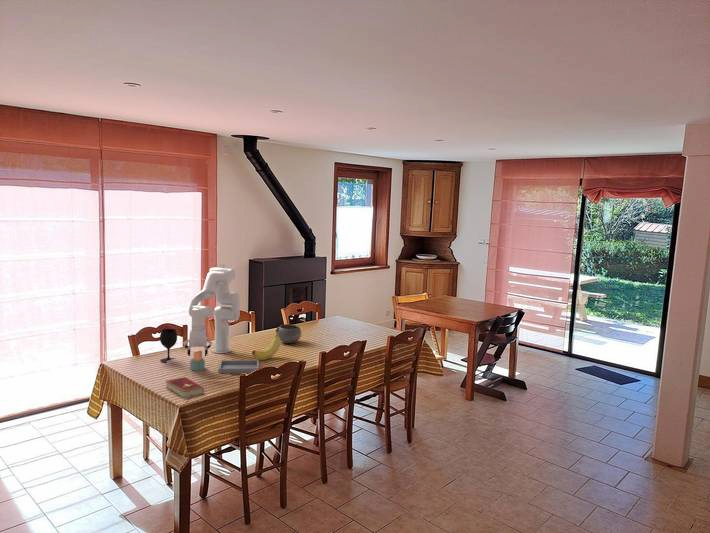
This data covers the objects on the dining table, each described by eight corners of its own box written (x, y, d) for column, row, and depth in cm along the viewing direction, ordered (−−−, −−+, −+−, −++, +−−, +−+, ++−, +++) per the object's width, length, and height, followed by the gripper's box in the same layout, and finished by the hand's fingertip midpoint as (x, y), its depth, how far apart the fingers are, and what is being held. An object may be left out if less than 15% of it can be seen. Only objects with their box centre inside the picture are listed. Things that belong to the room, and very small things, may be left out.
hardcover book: (185, 383, 306) (185, 376, 305) (203, 393, 291) (203, 386, 290) (165, 387, 297) (165, 380, 297) (182, 398, 282) (182, 390, 282)
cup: (191, 368, 332) (191, 357, 331) (205, 367, 333) (205, 357, 333) (189, 372, 324) (189, 361, 323) (204, 372, 325) (204, 361, 324)
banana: (255, 362, 349) (255, 332, 346) (249, 360, 352) (250, 331, 350) (281, 356, 365) (282, 328, 363) (276, 354, 369) (277, 326, 367)
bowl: (303, 340, 410) (303, 324, 409) (298, 346, 393) (298, 329, 391) (280, 338, 412) (280, 322, 411) (274, 344, 394) (274, 328, 393)
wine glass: (180, 360, 346) (180, 330, 344) (167, 364, 337) (167, 333, 335) (169, 357, 351) (169, 327, 349) (156, 361, 342) (156, 330, 340)
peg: (193, 367, 330) (193, 349, 329) (202, 367, 331) (202, 349, 330) (192, 369, 325) (193, 352, 324) (201, 369, 326) (201, 352, 325)
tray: (220, 365, 340) (220, 360, 339) (258, 365, 344) (258, 359, 344) (218, 374, 322) (218, 368, 322) (258, 373, 327) (258, 368, 326)
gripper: (213, 327, 331) (212, 354, 333) (184, 326, 327) (183, 354, 329) (212, 329, 323) (211, 357, 325) (182, 329, 320) (182, 357, 322)
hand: (197, 355), depth 327 cm, fingers open, 9 cm apart
